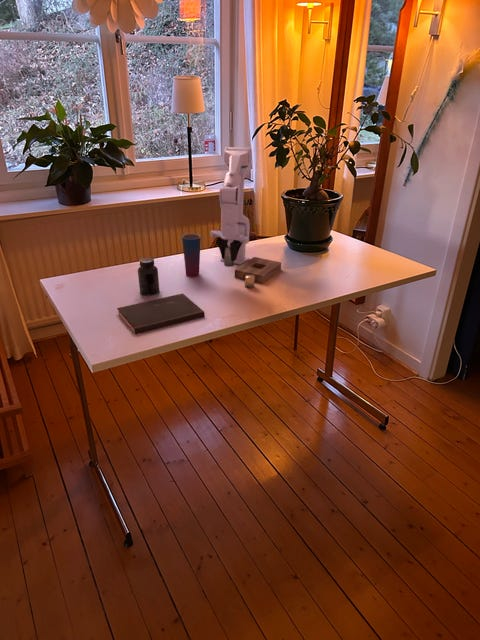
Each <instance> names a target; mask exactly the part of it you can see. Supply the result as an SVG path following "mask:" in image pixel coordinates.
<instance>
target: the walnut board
mask: <svg viewBox="0 0 480 640" xmlns="http://www.w3.org/2000/svg"><path fill="white" fill-rule="evenodd" d="M281 269H282V262H281V261H278V260H277V261H276V260H271V259H267V258H262V257H256V256H253V257H252V258H249V259H248V260H246V261H245V262H243V263H242V264H240V265H239V266H238V267H237V268H235V269H234V278H236V279H241V280H242V279H243V280H245V276H246V275H254V276H255V279H254V283H257V284H258V283H259V284H264V283H266V282H267V281H268V280H269V279H271V278H273V276H275V275H276V274H277V273H278V272H280V271H281Z"/></svg>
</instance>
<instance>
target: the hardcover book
mask: <svg viewBox="0 0 480 640" xmlns="http://www.w3.org/2000/svg"><path fill="white" fill-rule="evenodd" d="M116 309H117V311H118V314H119V315H120V316H121V318H122V319H123V320H124V322H125V323H126V324H127V325H128V326H130V327H131V328H130V327H129V328H130V329H131V330H132V332H133V333H134V332H135V333H134V335H135V334H136V335H138V333H139V334H143V333H147V332H151V331H154V330H159V329H162V328H163V329H164V328H167V327H171V326H174V325H178V323H179V324H182V323H185V322H189V321H194V320H197V318H198V319H201V318H205V314H206V313H205V311H204V310H203V309H202V308H200V307H199V305H197V304H196V303H195V302H194V301H193V300H191V298H189V297H188V296H187V295H186V294H184V293H178V294H175V295H174V294H173V295H170V296H166V297H160V298H155V299H151V300H148V301H147V300H146V301H143V302H139V303H135V304H129V305H125V306H120V307H117V308H116ZM193 319H194V320H193Z"/></svg>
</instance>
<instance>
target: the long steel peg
mask: <svg viewBox="0 0 480 640" xmlns="http://www.w3.org/2000/svg"><path fill="white" fill-rule="evenodd" d="M223 262H224V263H223V265H224V267H227V268H228V267H229V268H230V267H234V266H235V263H234V261H232V251H231V246H230V245H225V246H224V261H223Z"/></svg>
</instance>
